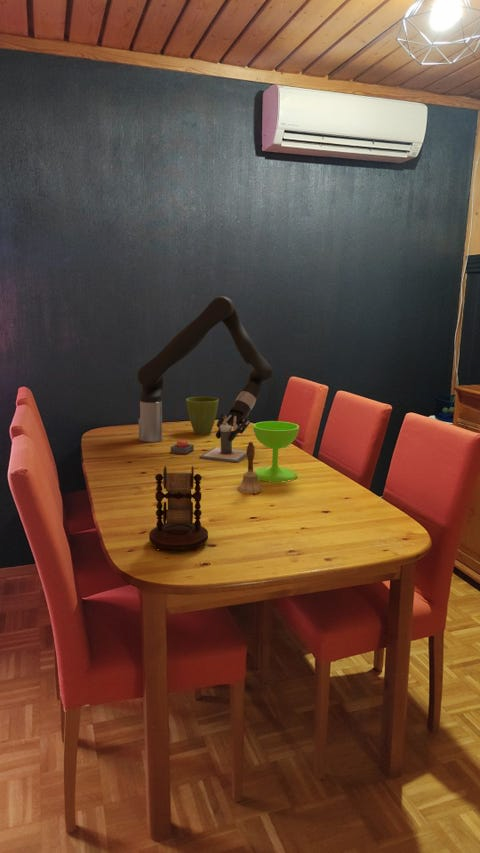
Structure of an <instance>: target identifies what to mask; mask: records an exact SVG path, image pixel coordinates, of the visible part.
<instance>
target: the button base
mask: <svg viewBox="0 0 480 853" xmlns="http://www.w3.org/2000/svg"><path fill="white" fill-rule="evenodd" d="M194 446H195V444H190V443H188V447H186V448H181V447H177V443H175V444H174V445H172V446H170V454H175V455H176V454H178V455H185V456H186V455H188V454H189V455H190V454H191V453H192V452H194V451H195V449H194V448H195V447H194Z"/></svg>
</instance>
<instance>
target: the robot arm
mask: <svg viewBox="0 0 480 853" xmlns="http://www.w3.org/2000/svg"><path fill="white" fill-rule="evenodd" d="M220 322H222V323H223V324H224V326H225V327H226V328H227V330H228V333H229V334H230V336H231V338H232V341H233V343H234V345H235V348H236V350H237V351H238V353H239V355H240V357H241V359H242V360H243V361H244V363H245V364H247V365H251V366H252V368H253V369H252V371H251V372H250V373H249V375H248V378H247V380H246V384H245V385H244V386H243V388H242V389H241V392H240V393H239V394H238V395H237V397H236V399H235V400H234V401H233V404H232V405H231V407H230V409H229V413H227V415H225V414H223V413H221V415H220V416H219V419H218V421H217V423H216V427H217V428H218V430H217V431H216V433H215V437H216V439H218V440H221V430H220V426H221V425H232V427H233V429H232V432H231V434H230V435H229V437H228V440H229V441H231V442H232V443H233V441H234V439H235V438H236V436H237V435H239V434H240V435H242V434H243V433H244V431H245V430H246V429H247V428H248V426H249V425H250V423H251V422H250V421H249V419H248V417H249V415H250V413H251V411H252V409H253V407H254V406H255V404H256V401H257V400H258V398H259V396H260V394H261V392H262V386H263V385H264V383H266V382H268V381H270V380H271V379H272V378H273V375H274V372H273V367H272V366H271V364H270V363H269V362H268V361H267V359H266V358H264V356H262V354H260V352H259V350H258V349H257V347H256V345H255V344H254V342H253V340H252V338H251V337H250V335H249V333H248V332H247V330H246V329H245V327H244V325H243V323H242V322H241V319H240V316H239V315H238V311H237V309H236V307H235V304H234V301H233V300H232V299H231V298H229V297H228V296H223V295H221V296H216V297H215V298H213V299H212V301H211V302H210V303H209V304H208V305H207V307H206V308H205V309H204V310H203V311H202V312H201V313H200V314H199V315H198V316H197V317H196V318H194V319H193V320H192V321H191V322H190V323H188V324H187V325H186V326H184V327H183V328H182V329H181V330H180V331H179V332H178V333H177V334H176V335H174V337H173V338H172V339H170V341H169V342H168V343H167V344H166V345H165V346H164V347H163V348H162V349H161V351H159V353H158V354H156V355H155V357H153V358H152V359H150V360H149V361H148V362H146V363H145V364H144V365H142V366H141V367H140V368H139V369H138V371H137V377H136V378H137V381H138V383H139V385H140V384H141V387H142V388H141V392H140V394H139V395H140V396H139V410H140V412H139V413H140V414H139V415H140V417H139V418H138V441H141V442H144V443H155V442H156V443H157V442H161V441H163V409H162V408H163V407H162V406H163V405H162V403H163V402H162V399H163V398H162V397H163V393H164V391H163V390H164V374H165V373H166V371H168V370H169V369H170V368H171V367H172V366H174V365H175V364H177V363H179V362H180V361H181V360H183V359H184V358H186V357H187V356H188V355H189V354H190V353H192V352H193V351H194V350H195V349H196V348H197V347H198V346H199V345H200V344H201V342H202V341H203V340H204V338H205V337H206V335H207V334H208V333H209V332H210V331H211V330H212V329H214V327H215V326H218V324H219V323H220Z"/></svg>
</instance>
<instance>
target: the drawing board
mask: <svg viewBox="0 0 480 853" xmlns="http://www.w3.org/2000/svg"><path fill="white" fill-rule="evenodd" d="M246 458H247V449H246V450H245V449H235V448H232V453H231V454H221V447H218V446H217V447H216V446H215V447H213V448H212V449H210V450H208V451H207V452H205V453H203V454H201V455H199V459H201V460H202V459H203V460H211V461H217V462H219V461H220V462H228V463H234V464H235V463H236V464H237V463H238V464H239V463H240V462H242V461H243V460H244V459H246Z"/></svg>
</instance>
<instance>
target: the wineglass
mask: <svg viewBox="0 0 480 853" xmlns="http://www.w3.org/2000/svg"><path fill="white" fill-rule="evenodd" d="M252 426H253V432H254V435H255V438H256V440H258V442H259V443H260V444H261V445H263V446H264V447H265V448H269V449H272V459H271V462H272V463H271V466H268V467H266V466H265V467H260V468H258V469H256V470H253V472H255V473H256V474H257V477H258V479H259V480H258V481H260V480H263V481H262V482H264V481H271V482H270V483H272V482H282V481H288V480H292V479H295V478H296V477H297V478H298V475H297V472H295V471H294V470H291V469H289V468H285V467H279V464H278V463H279V461H278V460H279V450H280V449H284V448H286V447H289V446H290V445H291V444H293V442H294V441H295V440H296V439H297V438H298V434H299V430H300V426H299V424H296V423H295V422H294V423H293V422H289V421H278V420H269V421H268V420H267V421H260V422H256V423H253V425H252ZM295 480H296V479H295ZM282 483H283V482H282Z"/></svg>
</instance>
